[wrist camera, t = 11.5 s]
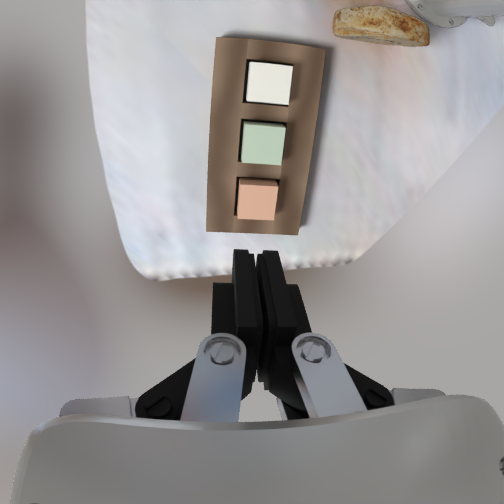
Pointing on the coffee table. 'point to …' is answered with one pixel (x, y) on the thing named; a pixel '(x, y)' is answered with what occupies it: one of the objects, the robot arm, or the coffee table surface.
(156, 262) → the coffee table surface
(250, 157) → the tile sage
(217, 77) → the brown tile tray
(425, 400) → the robot arm
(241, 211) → the tile terracotta
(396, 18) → the bagel
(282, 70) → the tile cream
